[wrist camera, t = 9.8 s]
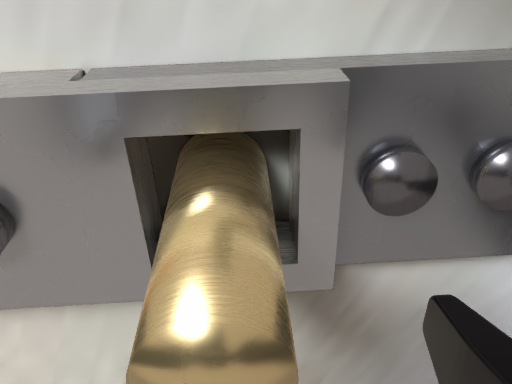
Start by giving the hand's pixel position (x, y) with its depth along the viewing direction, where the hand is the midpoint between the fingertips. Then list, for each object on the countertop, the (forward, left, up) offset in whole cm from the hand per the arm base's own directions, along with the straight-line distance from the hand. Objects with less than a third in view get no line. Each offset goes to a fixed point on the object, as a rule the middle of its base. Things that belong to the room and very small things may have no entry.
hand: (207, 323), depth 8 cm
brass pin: (0, 0, -7) cm, 7 cm away
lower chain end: (0, -4, -7) cm, 8 cm away
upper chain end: (0, +4, -7) cm, 8 cm away
